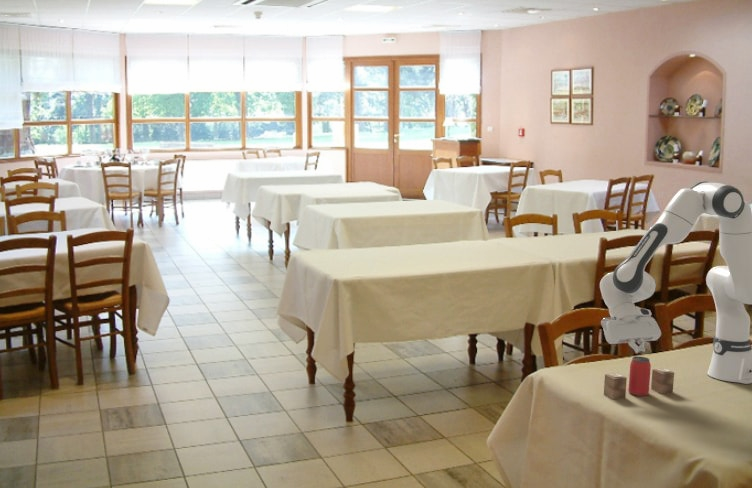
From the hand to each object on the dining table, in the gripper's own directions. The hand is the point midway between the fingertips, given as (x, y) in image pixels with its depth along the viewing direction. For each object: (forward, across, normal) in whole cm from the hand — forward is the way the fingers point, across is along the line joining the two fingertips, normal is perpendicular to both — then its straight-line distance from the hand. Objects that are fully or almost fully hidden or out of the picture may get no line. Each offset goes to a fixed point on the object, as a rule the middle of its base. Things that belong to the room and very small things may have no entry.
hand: (640, 352), depth 296 cm
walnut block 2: (+10, +10, +10) cm, 17 cm away
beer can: (+10, 0, +10) cm, 14 cm away
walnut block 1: (+10, -9, +10) cm, 17 cm away
